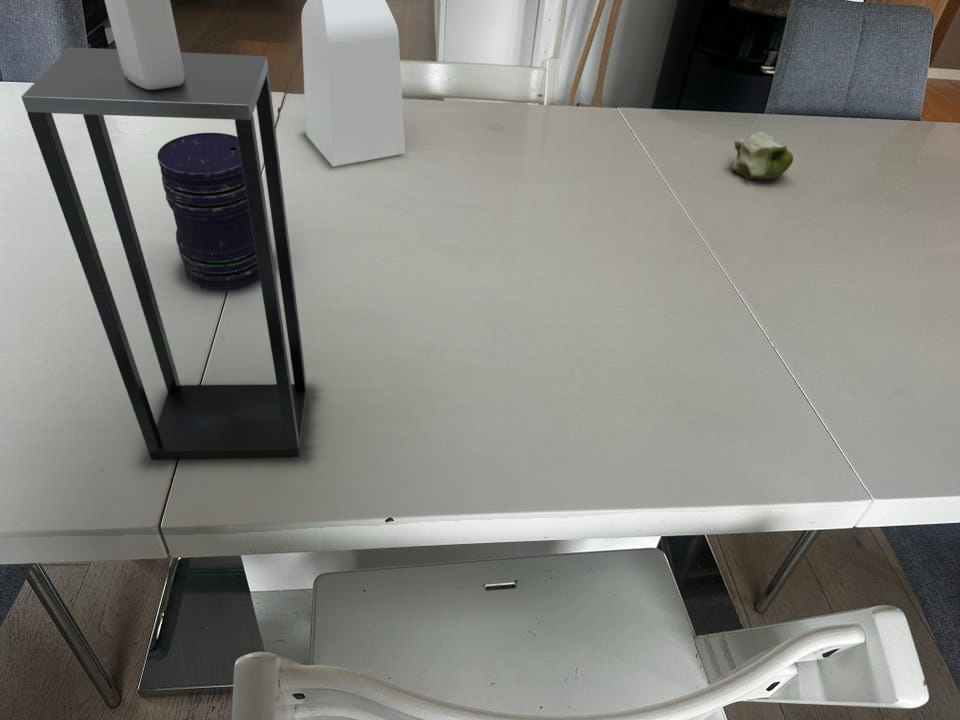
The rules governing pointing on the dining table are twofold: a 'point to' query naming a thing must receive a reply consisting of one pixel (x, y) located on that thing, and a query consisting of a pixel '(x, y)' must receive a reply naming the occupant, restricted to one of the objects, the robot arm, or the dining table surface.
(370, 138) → the milk
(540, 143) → the dining table surface
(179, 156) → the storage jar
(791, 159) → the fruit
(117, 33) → the eye dropper bottle
